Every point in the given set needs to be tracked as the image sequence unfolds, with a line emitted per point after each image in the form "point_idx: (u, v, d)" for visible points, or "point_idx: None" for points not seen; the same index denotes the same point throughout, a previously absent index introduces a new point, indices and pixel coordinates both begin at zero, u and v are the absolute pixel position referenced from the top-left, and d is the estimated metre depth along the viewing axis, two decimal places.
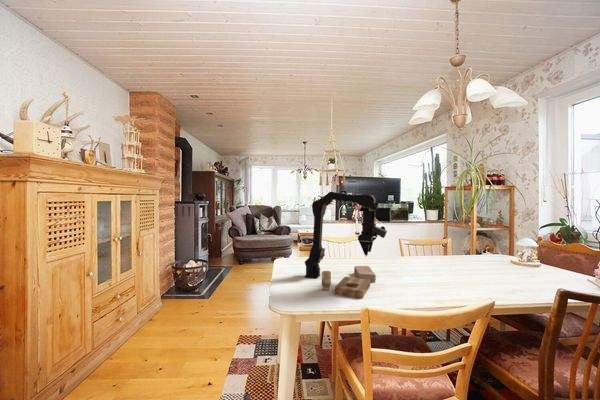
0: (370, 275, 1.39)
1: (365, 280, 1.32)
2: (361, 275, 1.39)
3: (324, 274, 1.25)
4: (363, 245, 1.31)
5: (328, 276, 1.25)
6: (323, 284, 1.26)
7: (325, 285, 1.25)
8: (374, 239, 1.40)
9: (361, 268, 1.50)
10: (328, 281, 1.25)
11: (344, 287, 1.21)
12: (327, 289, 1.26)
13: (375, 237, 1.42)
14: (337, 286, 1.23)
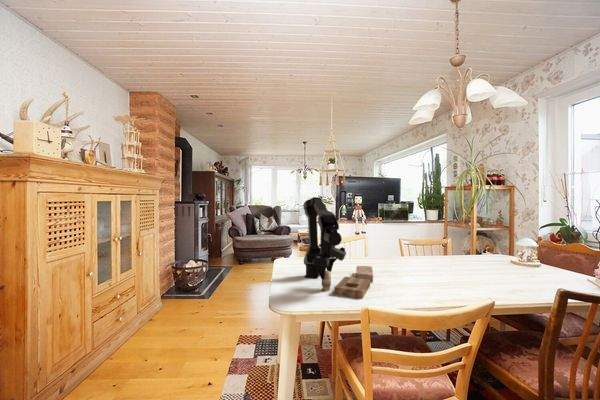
0: (367, 275, 1.39)
1: (365, 280, 1.32)
2: (358, 275, 1.40)
3: None
4: (319, 269, 1.22)
5: (328, 276, 1.25)
6: (323, 284, 1.26)
7: (325, 285, 1.25)
8: (334, 260, 1.31)
9: (362, 268, 1.50)
10: (328, 281, 1.25)
11: (344, 287, 1.21)
12: (327, 289, 1.26)
13: (336, 258, 1.33)
14: (337, 286, 1.23)
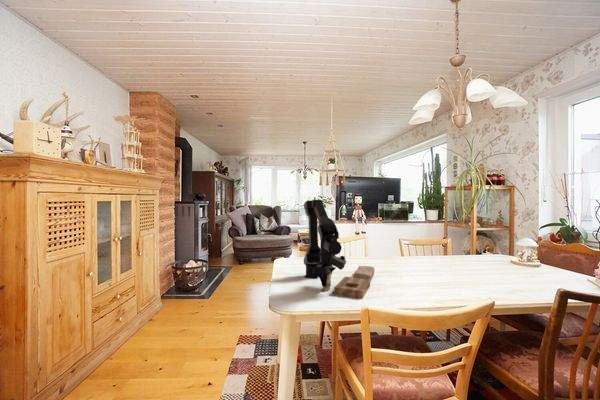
0: (364, 275, 1.39)
1: (365, 280, 1.32)
2: (355, 274, 1.41)
3: None
4: (321, 276, 1.24)
5: (328, 276, 1.25)
6: None
7: None
8: (332, 270, 1.29)
9: (363, 268, 1.50)
10: (328, 281, 1.25)
11: (344, 287, 1.21)
12: (327, 289, 1.26)
13: (334, 267, 1.31)
14: (337, 286, 1.23)
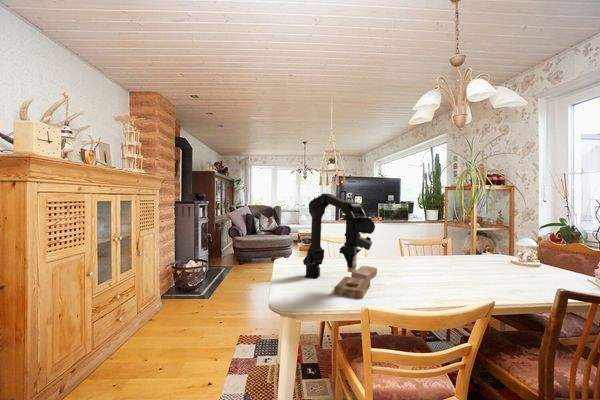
0: (361, 275, 1.40)
1: (365, 280, 1.32)
2: (352, 273, 1.42)
3: None
4: (347, 257, 1.22)
5: (354, 257, 1.23)
6: None
7: None
8: (358, 251, 1.26)
9: (364, 268, 1.50)
10: (354, 262, 1.23)
11: (344, 287, 1.21)
12: (353, 270, 1.23)
13: (359, 249, 1.28)
14: (337, 286, 1.23)
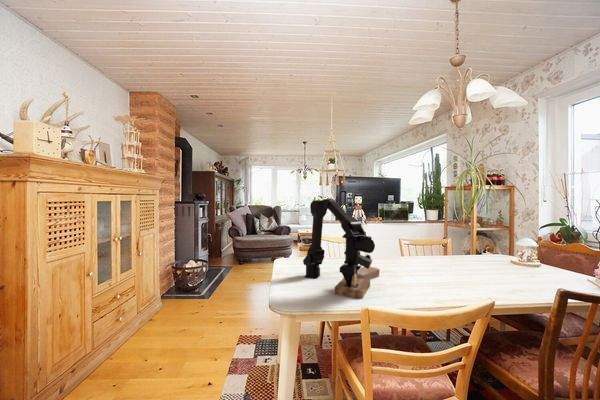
0: (357, 274, 1.41)
1: (365, 280, 1.32)
2: None
3: None
4: (346, 276, 1.20)
5: (354, 278, 1.23)
6: None
7: None
8: (358, 268, 1.28)
9: (366, 268, 1.50)
10: (354, 283, 1.23)
11: (344, 287, 1.21)
12: None
13: (360, 266, 1.30)
14: (337, 286, 1.23)
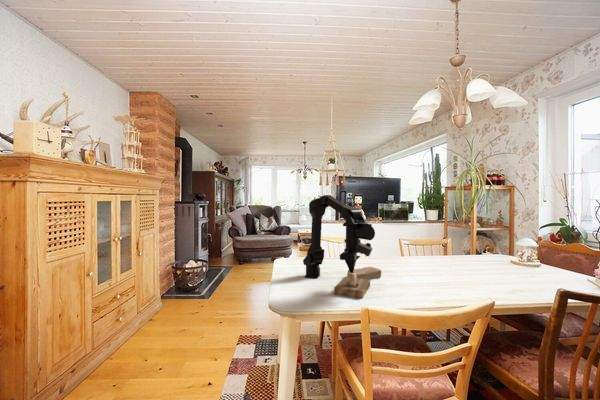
0: None
1: (365, 280, 1.32)
2: (348, 271, 1.46)
3: (350, 276, 1.23)
4: (348, 262, 1.24)
5: (354, 278, 1.23)
6: (349, 286, 1.23)
7: None
8: (357, 258, 1.24)
9: (367, 269, 1.49)
10: (354, 283, 1.23)
11: (344, 287, 1.21)
12: None
13: (358, 256, 1.26)
14: (337, 286, 1.23)
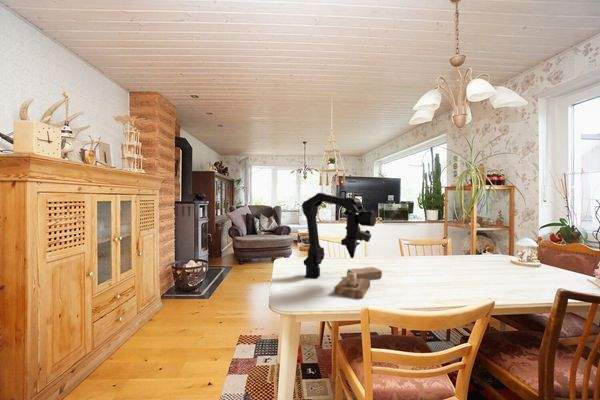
0: (351, 272, 1.43)
1: (365, 280, 1.32)
2: None
3: (350, 276, 1.23)
4: (349, 248, 1.32)
5: (354, 278, 1.23)
6: (349, 286, 1.23)
7: None
8: (357, 244, 1.33)
9: (368, 269, 1.49)
10: (354, 283, 1.23)
11: (344, 287, 1.21)
12: None
13: None
14: (337, 286, 1.23)
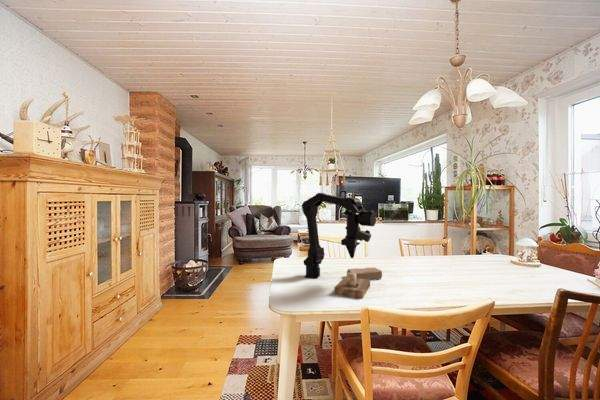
0: (350, 272, 1.44)
1: (365, 280, 1.32)
2: None
3: (350, 276, 1.23)
4: (349, 248, 1.32)
5: (354, 278, 1.23)
6: (349, 286, 1.23)
7: None
8: (357, 244, 1.33)
9: (368, 269, 1.49)
10: (354, 283, 1.23)
11: (344, 287, 1.21)
12: None
13: (358, 242, 1.35)
14: (337, 286, 1.23)
